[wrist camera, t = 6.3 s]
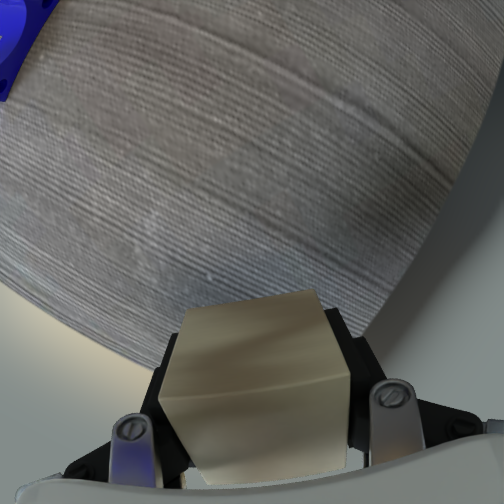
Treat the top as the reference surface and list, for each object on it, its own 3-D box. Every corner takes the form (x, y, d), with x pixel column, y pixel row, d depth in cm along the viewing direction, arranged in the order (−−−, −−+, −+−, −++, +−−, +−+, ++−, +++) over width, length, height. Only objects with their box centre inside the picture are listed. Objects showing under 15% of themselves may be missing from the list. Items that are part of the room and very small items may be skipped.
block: (314, 287, 11) (351, 372, 6) (322, 381, 12) (346, 468, 8) (186, 307, 11) (156, 398, 7) (216, 397, 12) (207, 485, 8)
